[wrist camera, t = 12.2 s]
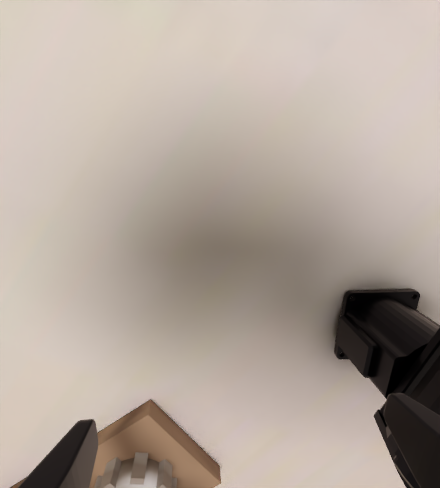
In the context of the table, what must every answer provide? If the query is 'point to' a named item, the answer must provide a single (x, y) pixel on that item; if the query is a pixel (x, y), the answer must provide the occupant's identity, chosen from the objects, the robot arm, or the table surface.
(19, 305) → the table surface
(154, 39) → the table surface
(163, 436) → the gear board
